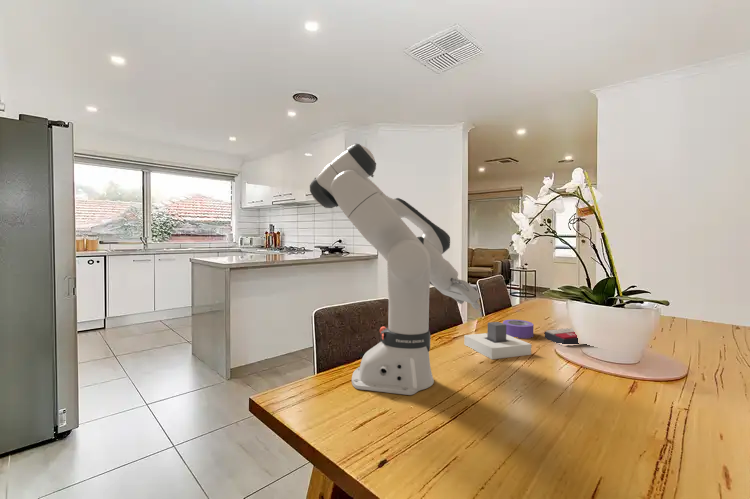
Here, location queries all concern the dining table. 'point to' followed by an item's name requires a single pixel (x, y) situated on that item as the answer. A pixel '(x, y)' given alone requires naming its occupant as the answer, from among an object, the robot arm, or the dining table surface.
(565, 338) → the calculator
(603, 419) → the dining table surface
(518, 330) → the tape roll
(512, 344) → the socket
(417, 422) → the dining table surface
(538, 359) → the dining table surface
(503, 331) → the plug
